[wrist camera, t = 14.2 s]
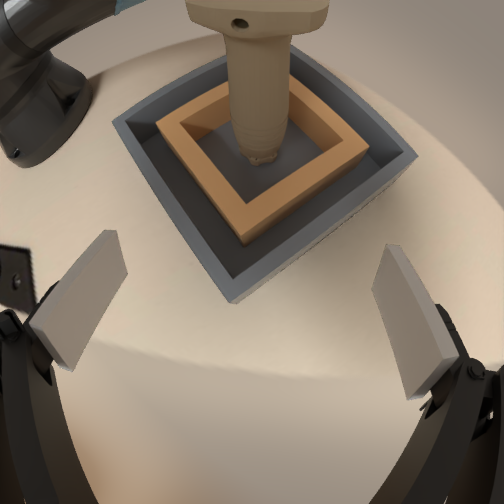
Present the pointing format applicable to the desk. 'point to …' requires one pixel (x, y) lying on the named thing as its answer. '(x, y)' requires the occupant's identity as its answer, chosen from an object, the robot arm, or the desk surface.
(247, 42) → the handle
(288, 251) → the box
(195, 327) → the desk surface
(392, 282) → the robot arm
